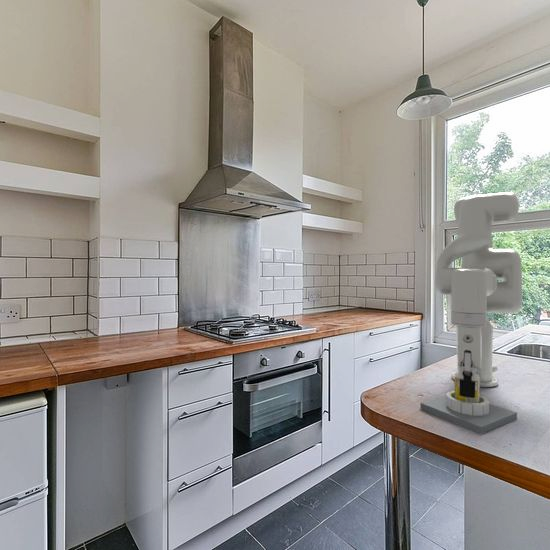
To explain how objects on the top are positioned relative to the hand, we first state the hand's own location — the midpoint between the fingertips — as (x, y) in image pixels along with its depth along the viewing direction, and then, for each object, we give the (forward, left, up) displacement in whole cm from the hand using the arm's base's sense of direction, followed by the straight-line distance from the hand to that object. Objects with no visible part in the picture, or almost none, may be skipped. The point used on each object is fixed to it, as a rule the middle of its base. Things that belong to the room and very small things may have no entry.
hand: (467, 391), depth 82 cm
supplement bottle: (0, 0, -3) cm, 3 cm away
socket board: (0, 0, -5) cm, 5 cm away
